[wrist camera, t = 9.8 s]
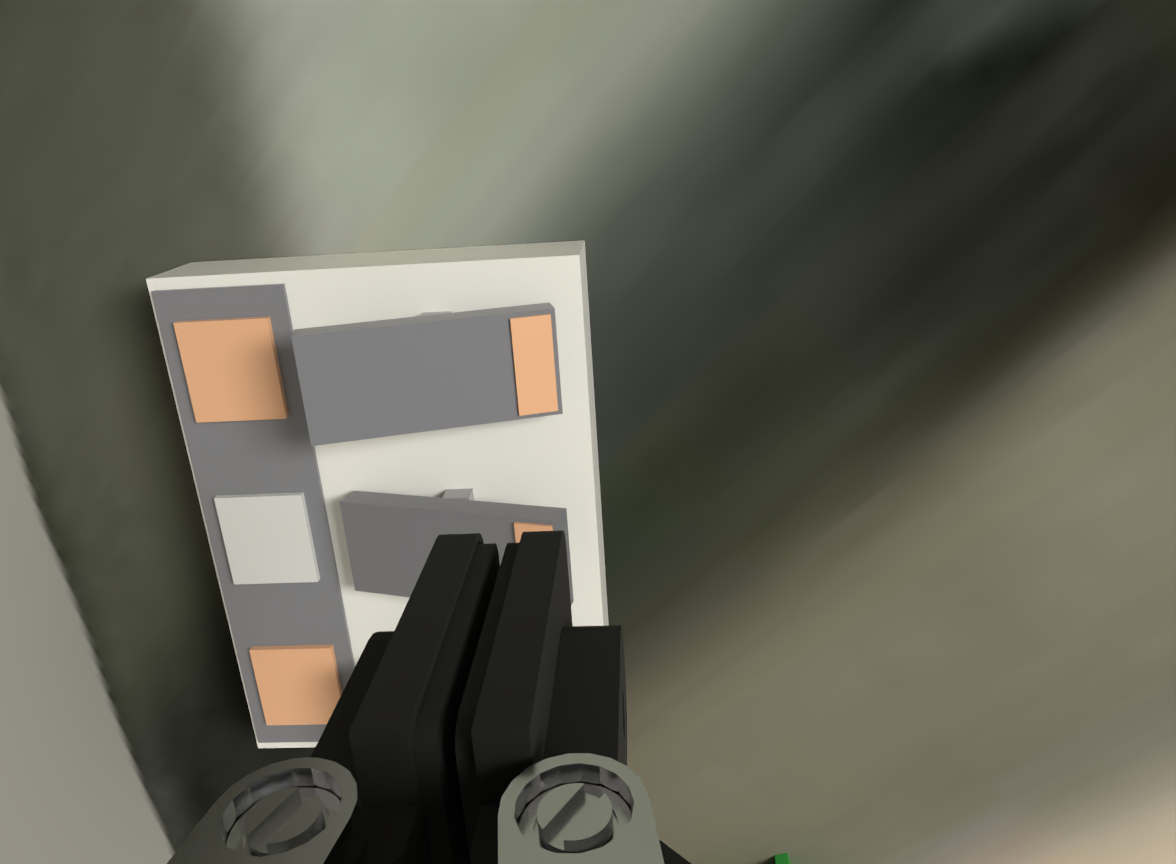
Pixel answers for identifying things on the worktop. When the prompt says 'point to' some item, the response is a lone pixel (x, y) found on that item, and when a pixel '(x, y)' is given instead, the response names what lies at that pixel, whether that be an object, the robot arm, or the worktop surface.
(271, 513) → the switch unit
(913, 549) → the worktop surface
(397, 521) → the rocker
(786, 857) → the pipe clamp
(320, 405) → the block
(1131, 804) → the worktop surface
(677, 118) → the worktop surface
